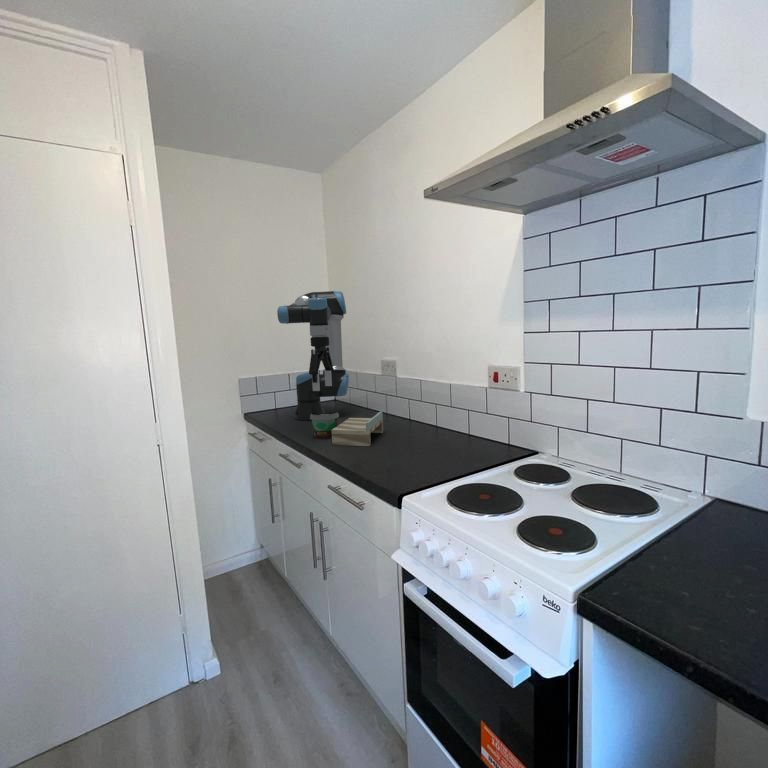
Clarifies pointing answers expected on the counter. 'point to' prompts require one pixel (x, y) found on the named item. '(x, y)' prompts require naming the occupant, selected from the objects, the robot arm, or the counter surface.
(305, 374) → the robot arm
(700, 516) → the counter surface
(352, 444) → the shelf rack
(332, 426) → the food container
